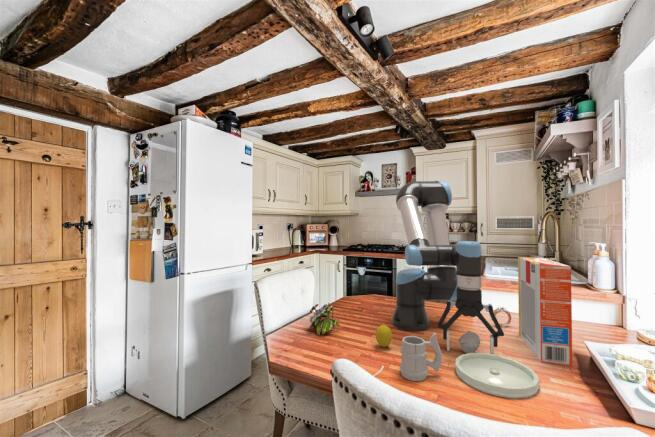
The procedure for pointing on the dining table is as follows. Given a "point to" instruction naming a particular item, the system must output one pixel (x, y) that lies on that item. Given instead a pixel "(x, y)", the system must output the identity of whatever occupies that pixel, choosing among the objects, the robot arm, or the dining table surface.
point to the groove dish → (497, 375)
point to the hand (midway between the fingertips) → (469, 352)
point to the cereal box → (545, 309)
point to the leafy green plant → (317, 319)
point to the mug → (418, 357)
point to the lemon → (383, 335)
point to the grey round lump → (469, 342)
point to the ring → (505, 312)
